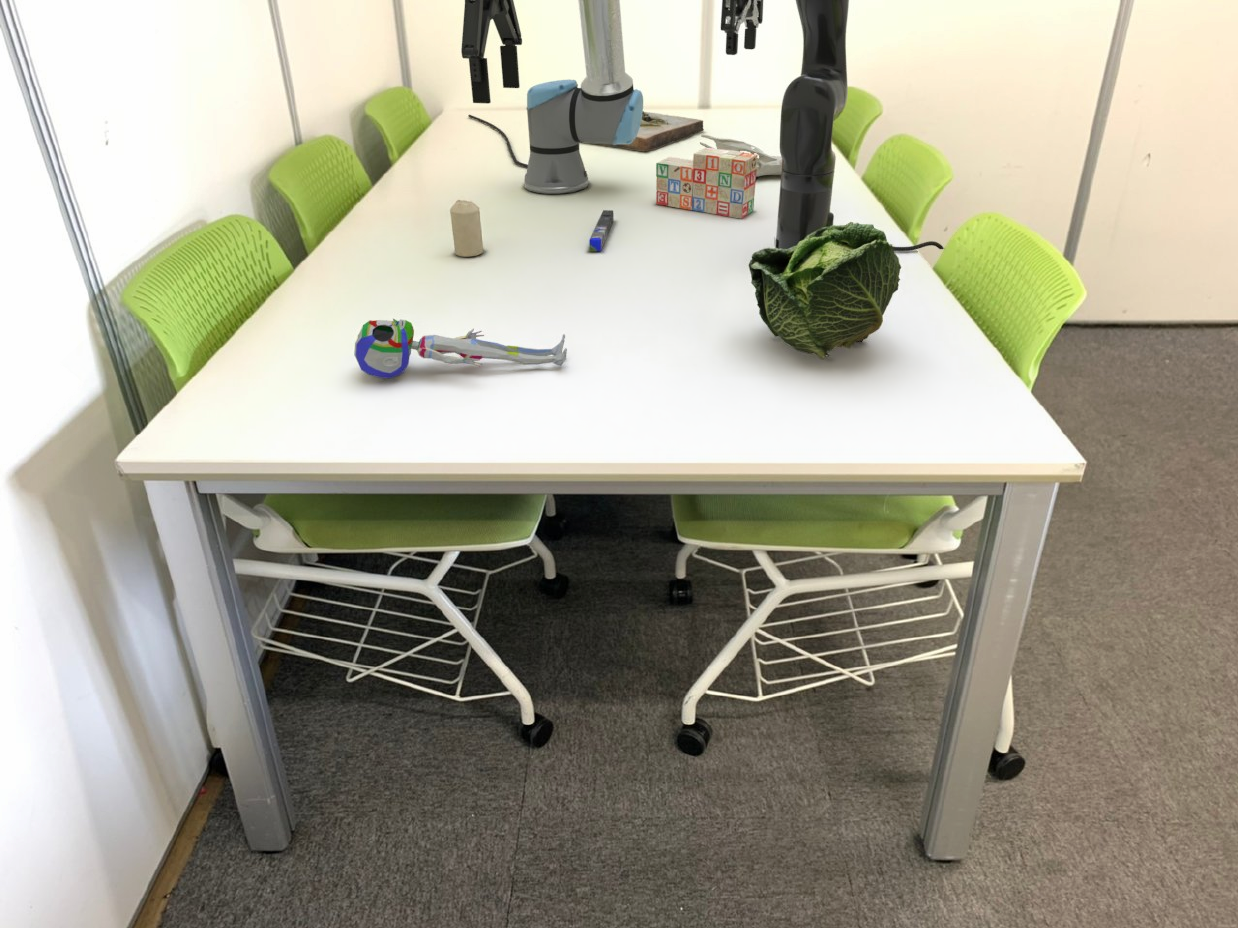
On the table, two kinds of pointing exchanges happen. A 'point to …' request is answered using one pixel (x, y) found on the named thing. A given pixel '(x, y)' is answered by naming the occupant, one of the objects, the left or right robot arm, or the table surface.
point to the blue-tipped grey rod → (601, 230)
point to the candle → (466, 228)
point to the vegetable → (826, 287)
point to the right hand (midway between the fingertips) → (740, 52)
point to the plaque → (661, 131)
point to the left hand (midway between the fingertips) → (497, 95)
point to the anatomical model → (764, 162)
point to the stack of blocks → (709, 182)
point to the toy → (435, 349)
